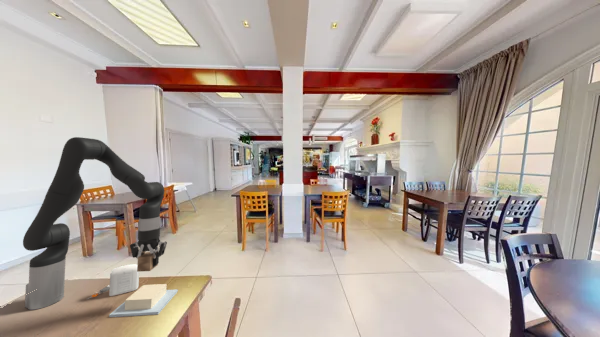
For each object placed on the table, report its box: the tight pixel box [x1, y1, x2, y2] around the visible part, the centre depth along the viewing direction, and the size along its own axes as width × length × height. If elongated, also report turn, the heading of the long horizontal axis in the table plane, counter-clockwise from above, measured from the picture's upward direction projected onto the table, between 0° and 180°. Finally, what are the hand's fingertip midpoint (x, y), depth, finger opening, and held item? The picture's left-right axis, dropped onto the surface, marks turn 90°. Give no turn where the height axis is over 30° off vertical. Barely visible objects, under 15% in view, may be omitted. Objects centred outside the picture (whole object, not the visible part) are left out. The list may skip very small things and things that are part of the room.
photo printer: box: [108, 263, 140, 297], centre depth 87 cm, size 10×4×12 cm, turn 123°
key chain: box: [87, 284, 110, 300], centre depth 85 cm, size 13×4×2 cm, turn 174°
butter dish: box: [108, 283, 179, 318], centre depth 79 cm, size 18×14×5 cm
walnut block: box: [137, 251, 159, 273], centre depth 79 cm, size 5×5×6 cm
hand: (148, 265), depth 79 cm, fingers closed on walnut block, 5 cm apart
